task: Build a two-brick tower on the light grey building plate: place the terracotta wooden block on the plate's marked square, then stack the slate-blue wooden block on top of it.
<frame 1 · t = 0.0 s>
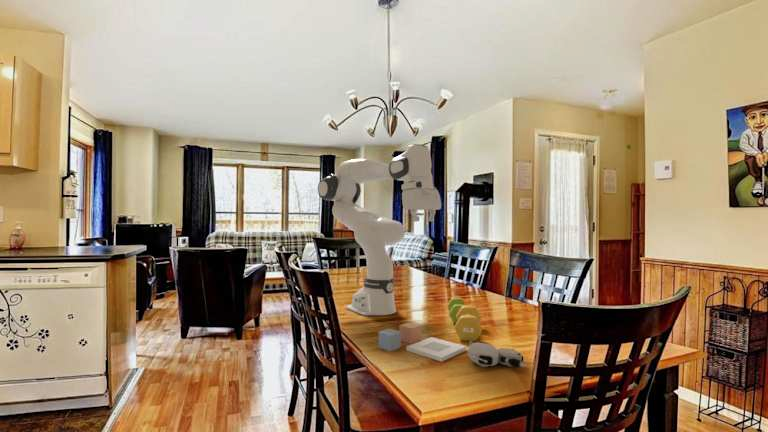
hand: (424, 221, 151), 39 cm above the table, tool pointing down, fingers open, 8 cm apart
dumbbell 2: (468, 334, 137), on the table
brick terracotta: (409, 340, 130), on the table
robot toy: (495, 365, 110), on the table
brick blue: (389, 347, 122), on the table
plate: (436, 350, 120), on the table
dumbbell: (458, 319, 157), on the table
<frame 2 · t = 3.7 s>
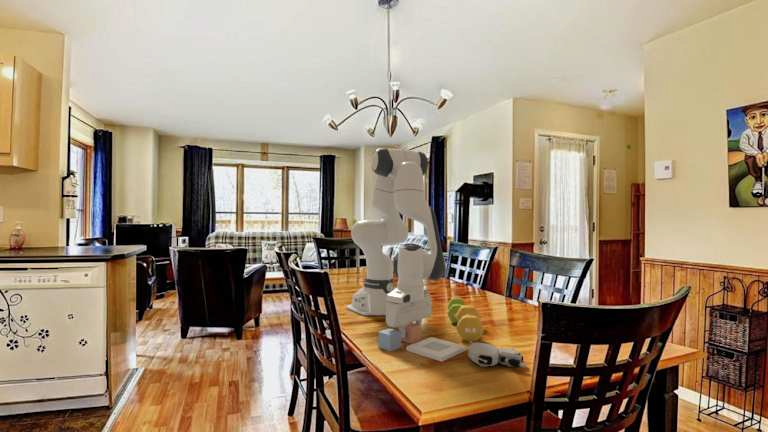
hand: (410, 335, 130), 2 cm above the table, tool pointing down, fingers closed on brick terracotta, 5 cm apart
brick terracotta: (410, 340, 130), on the table, touching gripper
everything else where it was.
when the fingers open (4 cm above the table, at t = 8.7 s): brick terracotta stays where it is, resting on plate.
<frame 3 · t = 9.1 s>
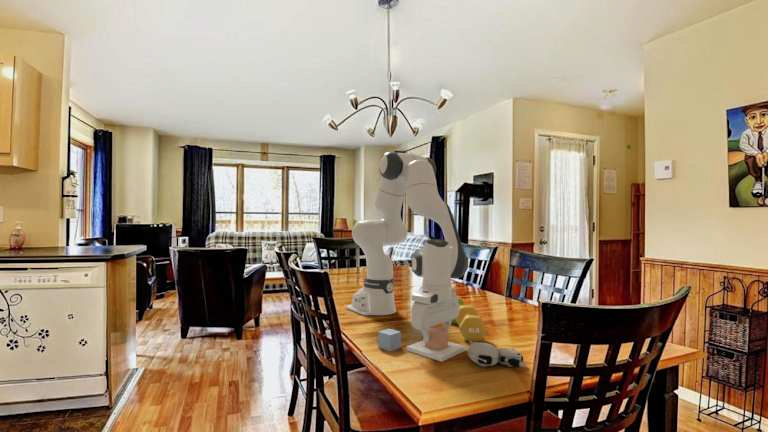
hand: (436, 338, 120), 4 cm above the table, tool pointing down, fingers open, 8 cm apart
brick terracotta: (436, 346, 120), point 1 cm above the table, touching plate
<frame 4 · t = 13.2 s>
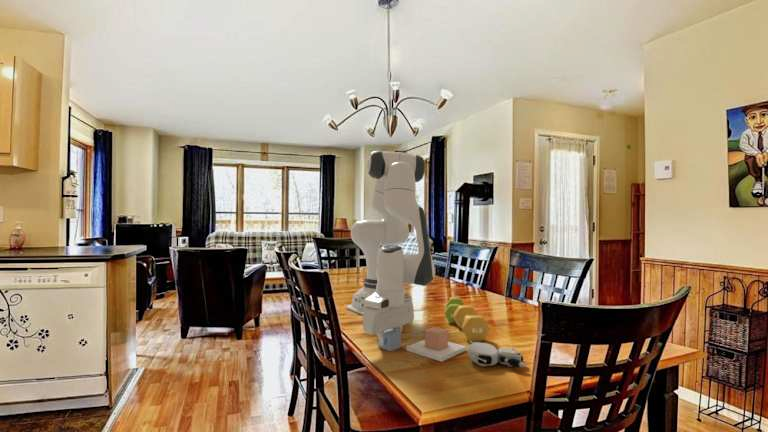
hand: (389, 342, 122), 2 cm above the table, tool pointing down, fingers closed on brick blue, 5 cm apart
brick blue: (389, 347, 122), on the table, touching gripper
when the fingers open (9 cm above the table, at t = 17.9 s): brick blue stays where it is, resting on brick terracotta.
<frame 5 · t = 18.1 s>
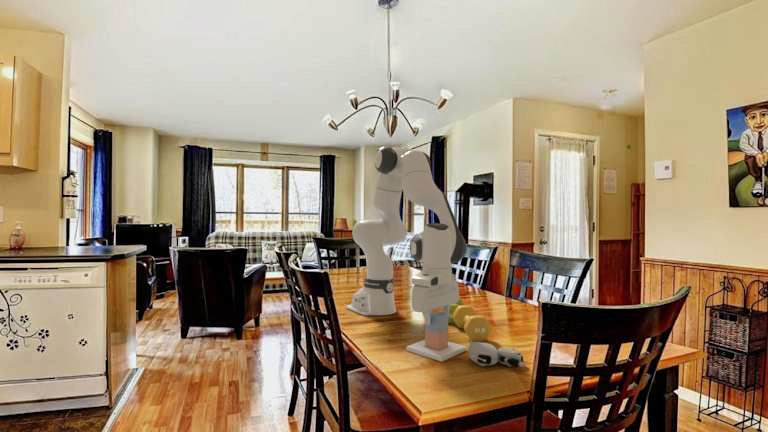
hand: (436, 321, 120), 9 cm above the table, tool pointing down, fingers open, 7 cm apart
brick terracotta: (436, 346, 120), point 1 cm above the table, touching brick blue, plate
brick blue: (436, 329, 120), point 6 cm above the table, touching brick terracotta
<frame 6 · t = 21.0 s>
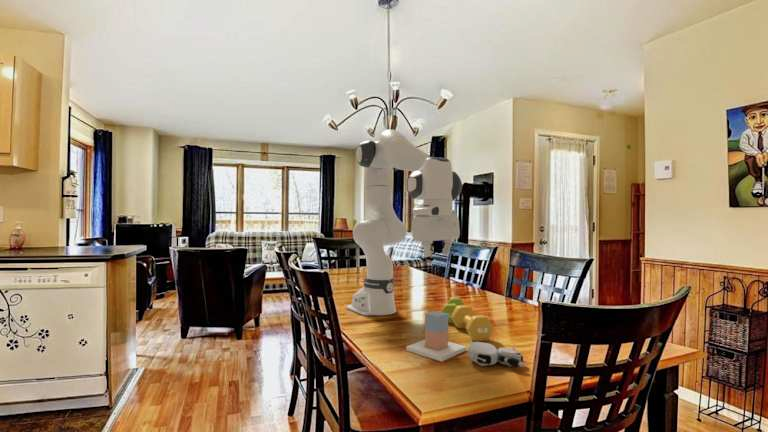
hand: (437, 255, 120), 29 cm above the table, tool pointing down, fingers open, 8 cm apart
at the end: brick terracotta 0.0 cm off-centre on the plate, point 1.2 cm above the plate's base; brick blue 0.0 cm off-centre on the brick terracotta, point 5.0 cm above the brick terracotta's base; brick blue tilted 0° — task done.
